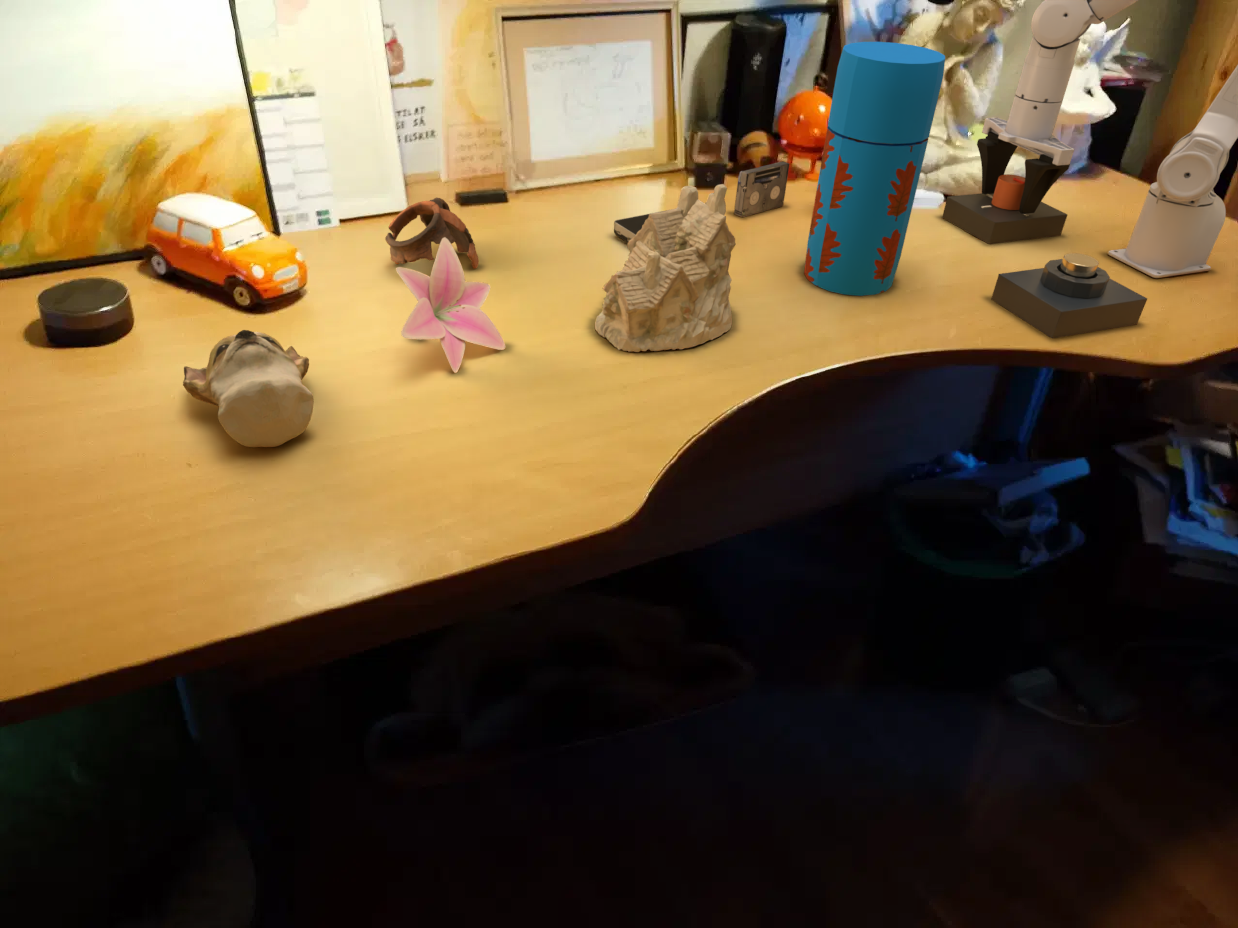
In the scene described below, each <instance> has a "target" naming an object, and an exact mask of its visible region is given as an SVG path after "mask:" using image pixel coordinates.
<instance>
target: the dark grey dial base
mask: <svg viewBox="0 0 1238 928" xmlns="http://www.w3.org/2000/svg"><path fill="white" fill-rule="evenodd" d="M993 195H994V194H983V193H982V192H981V193H972V194H971V193H969V194H959V195H951V196H946V200H945V203H944V207H943V208H944V209H943V212H942V216H941V218H942V219H944V220H946V221H947V222H949V223H951V224H952V225H954V226H956V227H958V228H959V229H961V230H963V231H965V232H967V233H968V234H970V235H972V236H973V237H975V238H976V239H979V240H980V241H981V242H984V243H986V244H987V245H994V244H1003V243H1004V244H1005V243H1011V242H1019V241H1020V242H1021V241H1027V240H1029V241H1030V240H1036V239H1044V238H1052V237H1053V238H1054V237H1061V235H1062V232H1063V229H1064V228H1065V227H1064V226H1065V224H1066V221H1067V218H1068V213H1065V212H1063V211H1062V210H1059V209H1058V208H1055V207H1053V206H1051V205H1049V204H1047V203H1046V202H1044V201H1041V202H1040V204H1039V206H1038V207H1037V209H1036V211H1035V212H1034V213H1028V214H1022V213H1020V212H1019V210H1007V209H1002V208H998V207H996V206H994V205H993V204H992V199H993Z"/></svg>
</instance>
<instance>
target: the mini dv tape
mask: <svg viewBox="0 0 1238 928" xmlns="http://www.w3.org/2000/svg"><path fill="white" fill-rule="evenodd" d="M789 169H790V163H789V162H786V161H779V162H774V163H771V164H767V165H763V166H762V165H761V166H758V167H754V168H750V169H746V170H741V171H739V174H738V177H737V186H736V192H735V200H734V201H735V202H734V208H733V209H734V210H733V215H736V216H738V217H740V218H745V217H748V216H749V217H750V216H752V215H756V214H759V213H763V212H767V211H770V210H774V209H778V208H782V207H784V204H785V196H786V191H787V190H786V189H787V184H788V183H787V182H788V176H789Z"/></svg>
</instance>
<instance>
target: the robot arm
mask: <svg viewBox="0 0 1238 928" xmlns="http://www.w3.org/2000/svg"><path fill="white" fill-rule="evenodd" d="M1136 2H1139V0H1043V1H1042V2H1041V3H1040V4H1039V5H1038V6H1037V8H1036V9H1035V11H1034V12H1033V15H1032V18H1031V20H1030V21H1031V22H1030V28H1031V29H1030V30H1031V34H1032V37H1031V40H1030V42H1029V48H1028V51H1027V54H1026V55H1025V58H1024V62H1023V65H1022V69H1021V72H1020V75H1019V79H1018V82H1017V86H1016V90H1015V93H1014V97H1013V100H1012V104H1011V107H1010V111H1009V115H1008V118H1007V119H1003V118H999V117H986V118H985V119H984V122H983V127H982V130H981V133H982V134H984V135H986V136H985V138H984V137H983V138H978V139H977V141H976V146H977V149H978V153H979V156H980V162H981V193H983V194H994V192H995V188H996V185H997V181H998V178H999V176H1000V175H1005V172H1006V170H1007V167H1008V165H1009V163H1010V161H1011V159H1012V157H1013V155H1014V154H1015V152H1016V150H1017V148H1018V147H1019V148H1021V149H1023V150H1025V151H1028V152H1030V153H1033V154H1034V155H1037V156H1039V157H1038V158H1037V157H1035V158H1028V159H1027V158H1026V159H1025V160H1024V168H1025V171H1024V172H1025V173H1024V175H1025V176H1024V177H1025V185H1024V190H1023V194H1022V198H1021V202H1020V208H1019V212H1020V213H1022V214H1028V213H1034V212H1035V211H1036V209H1037V207H1038V206H1039V204H1040V202H1043V201H1042V200H1043V199H1044V198H1045V196H1046V195H1047V193H1048V192H1049V191H1050V189H1051V188H1052V186H1053V185H1054V184H1055V183H1056V182H1057V180H1059V179H1060V178H1061V177H1062V176H1063V175H1064V173H1066V172H1067V171H1068V170H1069V169H1070V166H1071V162H1072V158H1073V155H1074V152H1075V148H1073V147H1071V146H1069V145H1067V144H1066V143H1064V142H1063V141H1061V140H1060V139H1059V138H1058V137H1056V136H1055V135H1054V134H1053V133H1054V130H1055V126H1056V124H1057V121H1058V117H1059V114H1060V111H1061V107H1062V104H1063V102H1064V97H1065V94H1066V92H1067V89H1068V85H1069V81H1070V80H1071V79H1070V78H1071V75H1072V72H1073V68H1074V66H1075V63H1076V60H1075V58H1076V55H1077V52H1078V48H1079V46H1080V42H1081V37H1082V36H1083V35H1084V34H1085V33H1086V32H1087V31H1088V30H1089V29H1090V27H1091V26H1092V25H1100V24H1101V23H1103V22H1106V21H1107V20H1108V19H1109V18H1111V17H1113V16H1115V15H1117V14H1118V13H1120V12H1122V11H1123V10H1125V9H1127V8H1128V7H1130V6H1131V5H1133V4H1135V3H1136ZM1237 139H1238V64H1237V65H1236V66H1235V67H1234V70H1233V71H1232V73H1231V74H1230V75H1229V77H1228V78H1227V80H1226V81H1225V83H1224V84H1223V86H1222V88H1221V89H1220V90H1219V91H1218V93H1217V95H1216V96H1215V97H1214V99H1213V101H1212V102H1211V104H1210V105H1209V107H1208V108H1207V110H1206V111H1205V113H1204V114H1203V115H1202V117H1201V119H1200V120H1199V122H1198V123H1197V125H1196V126H1195V128H1193V130H1191V131H1190V132H1189V133H1187V134H1186V135H1184V136H1182V137H1181V138H1180V139H1179V140H1178V141H1176V142H1175V144H1174V145H1173V147H1172V148H1171V150H1170V152H1169V154H1168V155H1167V156H1166V157H1165V158H1163V160H1162V162H1161V163H1160V165H1159V167H1158V169H1157V173H1156V181H1155V182H1153V183H1151V184H1150V186H1149V189H1148V191H1147V194H1146V196H1145V199H1144V202H1143V204H1142V207H1141V209H1140V212H1139V214H1138V217H1137V219H1136V222H1135V225H1134V228H1133V230H1132V232H1131V235H1130V237H1129V239H1128V243H1127V246H1126V248H1119V249H1111V250H1110V249H1109V250H1108V252H1107V255H1108V256H1110V257H1112V258H1114V259H1116V260H1118V261H1120V262H1121V263H1124V264H1126V265H1127V266H1129V267H1132V268H1133V269H1136V270H1137V271H1139V272H1142V273H1143V274H1146V275H1147V276H1149V277H1151V278H1154V279H1160V278H1167V277H1173V276H1174V277H1175V276H1180V275H1189V274H1195V273H1202V272H1208V271H1211V269H1212V266H1210V265H1209V264H1207V262H1208V260H1209V258H1210V255H1211V253H1212V251H1213V249H1214V246H1215V244H1216V242H1217V240H1218V237H1219V235H1220V233H1221V231H1222V228H1223V227H1224V224H1225V220H1226V216H1227V215H1226V214H1227V210H1226V205H1225V203H1224V201H1223V199H1222V198H1221V197H1220V196H1219V195H1217V194H1216V193H1215V190H1214V188H1215V187H1216V185H1217V183H1218V182H1219V179H1220V175H1221V173H1222V172H1223V170H1224V169H1225V168H1226V166H1227V164H1228V162H1229V157H1230V150H1231V149H1232V147H1233V145H1234V144H1235V142H1236V141H1237Z"/></svg>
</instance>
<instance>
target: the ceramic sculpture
mask: <svg viewBox="0 0 1238 928" xmlns="http://www.w3.org/2000/svg"><path fill="white" fill-rule="evenodd" d="M309 368H310V358H309V357H308V356H302V355H300V354H299V353H298V352H297V351H296V349H295V347H293V345H290V346H289V347H287V349H284V347H283V346H282V344H281V343H280V341H278V340H277V339H276V338H275V337H273V336H272V335H269V334H267V333H265V332H260V331H252V330H249V329H242V330H240V331H238V332H237V333H236V334H232V335H228V336H226V337H222V338H221V339H220V340H219V341H217V343H216V344H215V345H214V346H213V347H212V349H211V350H210V354H209V357H208V362H207V365H206V366H205V367H202V368H194V367H190V366H184V367H183V375H184V379H183V380H182V386H183V388H184V389H185V391H186V392H187V393H188V394H189V395H191V397H193V398H194V399H195V400H199V401H201V402H204V403H208V404H211V405H213V406H216V407H218V412H217V419H218V422H219V424H220V425H221V426H222V428H223V430H224V431H225V432H226V433H227V435H228V436H230V438H231V439H233V440H234V441H235V442H236V443H238V444H240V445H241V446H244V447H247V448H258V447H260V448H275V447H279V446H282V445H283V444H285V443H287V442H289V441H290V440H292V439H294V438H296V437H298V436H300V435H301V434H303V433H304V432H305V431H306V429H307V427H308V425H309V424H310V422H311V418H312V415H313V411H314V400H315V399H314V395H313V392H312V391H310V390H309V388H308V387H307V386H305V385H304V384H303V381H302V380H303V379H304V378H305V376H306V375H307V373H308V371H309Z"/></svg>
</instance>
